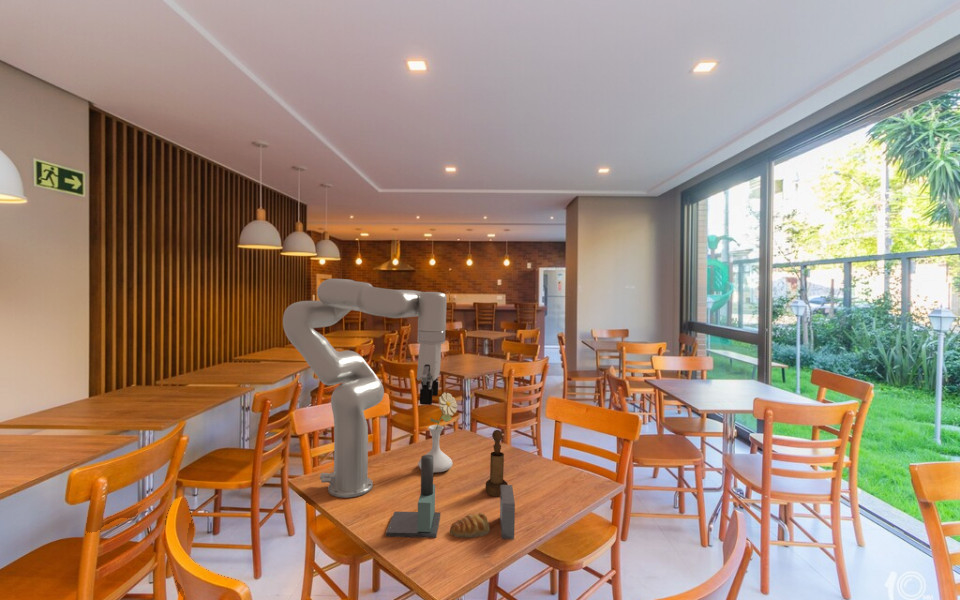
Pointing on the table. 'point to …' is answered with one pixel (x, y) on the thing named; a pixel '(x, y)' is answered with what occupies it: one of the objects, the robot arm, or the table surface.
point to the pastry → (470, 526)
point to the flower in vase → (447, 407)
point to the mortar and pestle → (496, 467)
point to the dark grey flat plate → (410, 525)
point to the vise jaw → (426, 495)
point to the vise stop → (507, 512)
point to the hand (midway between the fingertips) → (429, 399)
